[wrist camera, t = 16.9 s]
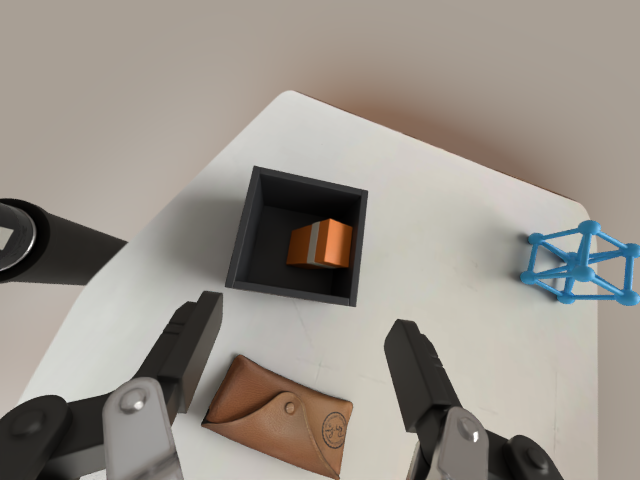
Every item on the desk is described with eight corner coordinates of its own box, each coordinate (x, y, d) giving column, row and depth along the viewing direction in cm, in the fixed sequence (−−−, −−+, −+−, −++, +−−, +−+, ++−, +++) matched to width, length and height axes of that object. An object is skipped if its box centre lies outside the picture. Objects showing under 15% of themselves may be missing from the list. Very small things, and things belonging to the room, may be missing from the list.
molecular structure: (570, 256, 46) (648, 246, 36) (562, 306, 43) (645, 309, 33) (526, 232, 45) (593, 215, 36) (515, 281, 43) (584, 276, 33)
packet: (285, 265, 34) (323, 261, 26) (291, 230, 35) (329, 217, 28) (307, 269, 36) (348, 268, 28) (312, 236, 37) (353, 226, 30)
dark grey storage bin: (240, 289, 34) (224, 287, 24) (260, 201, 38) (253, 165, 27) (332, 303, 36) (356, 307, 26) (343, 218, 40) (368, 190, 29)
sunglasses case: (357, 400, 33) (363, 454, 27) (335, 434, 35) (336, 493, 29) (235, 350, 32) (210, 394, 26) (218, 388, 34) (192, 438, 27)
